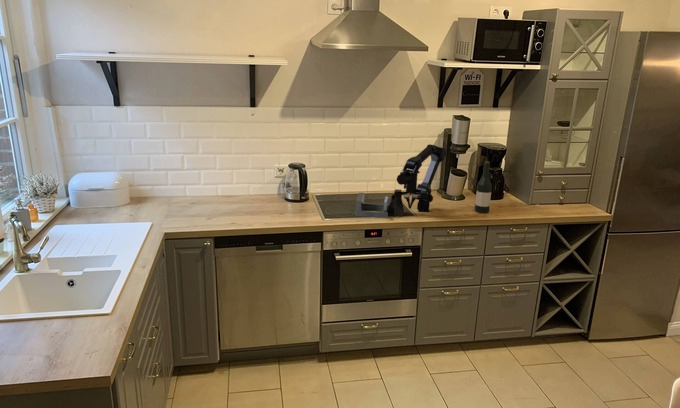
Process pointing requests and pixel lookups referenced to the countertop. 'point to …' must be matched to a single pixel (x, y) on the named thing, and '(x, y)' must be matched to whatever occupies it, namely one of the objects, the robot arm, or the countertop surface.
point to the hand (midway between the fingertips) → (409, 208)
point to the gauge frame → (361, 205)
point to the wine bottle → (483, 191)
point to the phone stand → (396, 206)
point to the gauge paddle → (385, 204)
